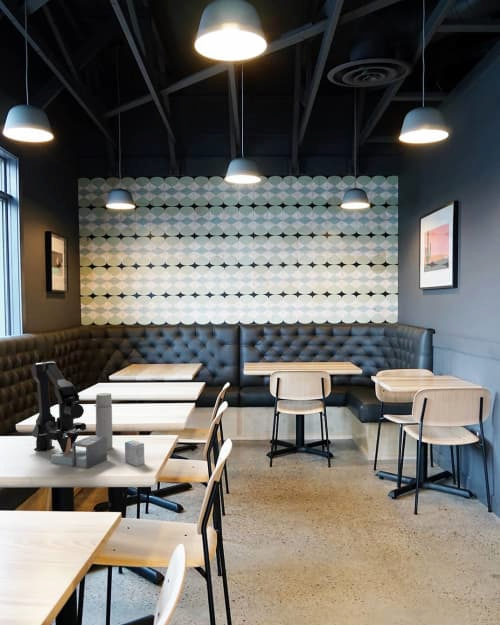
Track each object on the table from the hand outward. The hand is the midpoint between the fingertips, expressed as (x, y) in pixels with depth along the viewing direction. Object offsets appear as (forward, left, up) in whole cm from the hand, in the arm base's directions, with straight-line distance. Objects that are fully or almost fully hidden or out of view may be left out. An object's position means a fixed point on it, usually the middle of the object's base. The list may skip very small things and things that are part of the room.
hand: (66, 450), depth 211 cm
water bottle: (-19, +4, -4) cm, 20 cm away
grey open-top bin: (0, +12, -4) cm, 13 cm away
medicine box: (-6, +30, -4) cm, 31 cm away
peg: (0, 0, -4) cm, 4 cm away
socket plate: (0, +6, -4) cm, 7 cm away
